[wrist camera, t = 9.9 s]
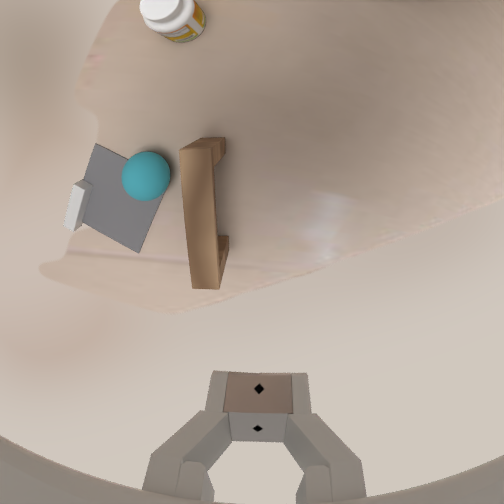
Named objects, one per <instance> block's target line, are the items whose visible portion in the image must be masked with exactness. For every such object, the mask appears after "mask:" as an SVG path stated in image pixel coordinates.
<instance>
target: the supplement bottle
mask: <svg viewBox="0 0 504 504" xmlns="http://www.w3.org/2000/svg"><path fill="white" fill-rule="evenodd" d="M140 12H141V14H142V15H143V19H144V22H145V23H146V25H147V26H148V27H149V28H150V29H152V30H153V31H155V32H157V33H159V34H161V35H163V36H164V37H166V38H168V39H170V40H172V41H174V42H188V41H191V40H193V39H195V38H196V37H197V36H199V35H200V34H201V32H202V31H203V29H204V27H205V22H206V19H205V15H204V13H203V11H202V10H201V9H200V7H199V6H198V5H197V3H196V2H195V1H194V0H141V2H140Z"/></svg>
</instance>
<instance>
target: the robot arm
mask: <svg viewBox="0 0 504 504" xmlns="http://www.w3.org/2000/svg"><path fill="white" fill-rule="evenodd" d="M232 441H259V442H284V445H285V446H286V448H287V449H288V450H289V452H290V453H291V455H292V456H293V457H294V459H295V461H296V462H297V463H298V465H299V466H300V468H301V469H302V470H303V472H304V475H303V478H302V481H301V483H300V485H299V488H298V490H297V493H296V504H504V455H503V456H500V457H498V458H496V459H494V460H492V461H489V462H487V463H485V464H482V465H480V466H477V467H475V468H472V469H470V470H467V471H464V472H461V473H459V474H456V475H453V476H450V477H447V478H444V479H441V480H438V481H435V482H431V483H428V484H424V485H421V486H417V487H413V488H409V489H405V490H401V491H396V492H392V493H387V494H382V495H377V496H371V497H366V489H365V483H364V476H363V470H362V463H361V460H360V459H359V458H358V457H357V456H356V455H355V454H354V453H353V452H352V451H351V450H350V449H349V448H348V447H347V446H346V445H345V444H344V443H343V441H342V440H341V439H340V438H339V437H338V436H337V435H336V434H335V433H334V432H333V431H332V430H331V429H330V428H329V427H328V426H327V425H326V424H325V422H324V421H323V420H322V419H321V418H320V417H319V416H318V415H317V414H312V413H311V402H310V393H309V384H308V375H307V374H306V373H291V374H290V373H244V372H243V373H242V372H228V371H213V373H212V375H211V380H210V386H209V391H208V396H207V401H206V407H205V411H199V412H198V413H197V414H196V415H195V416H194V417H193V418H192V419H190V420H189V421H188V422H187V423H186V424H185V425H184V426H183V427H182V428H181V429H179V430H178V431H177V432H176V433H175V434H174V435H173V436H172V437H170V438H169V439H168V440H167V441H166V442H165V443H164V444H162V445H161V446H160V447H159V448H158V449H157V450H155V451H154V452H153V453H152V454H151V457H150V461H149V465H148V469H147V472H146V476H145V480H144V483H143V487H142V490H140V489H136V488H132V487H128V486H124V485H121V484H117V483H114V482H110V481H106V480H104V479H100V478H97V477H94V476H91V475H88V474H85V473H82V472H80V471H77V470H74V469H71V468H69V467H66V466H64V465H61V464H59V463H56V462H54V461H52V460H49V459H47V458H45V457H42V456H40V455H38V454H36V453H34V452H32V451H29V450H27V449H25V448H23V447H21V446H19V445H17V444H15V443H13V442H11V441H9V440H8V439H6V438H4V437H2V436H1V435H0V504H232V503H220V502H213V501H214V489H213V486H212V484H211V481H210V478H209V476H208V473H207V471H208V470H209V469H210V468H211V467H212V465H213V464H214V463H215V462H216V460H218V458H219V457H220V456H221V455H222V454H223V452H224V451H225V450H226V449H227V448H228V446H229V445H230V444H231V443H232Z"/></svg>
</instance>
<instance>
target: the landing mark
mask: <svg viewBox="0 0 504 504" xmlns="http://www.w3.org/2000/svg"><path fill="white" fill-rule="evenodd" d="M127 161H128V159H126V158H124V157H122V156H120V155H118V154H116V153H114V152H112V151H110V150H108V149H106V148H104V147H102V146H100V145H98V144H95V146H94V149H93V152H92V154H91V157H90V161H89V163H88V166H87V170H86V173H85V176H84V179H83V180H84V181H86V182H88V183H89V184H91V185H93V187H92V190H91V193H90V196H89V200H88V203H87V206H86V210H85V213H84V217H83V221H82V222H83V223H85V224H87V225H88V226H90V227H92V228H93V229H95V230H97V231H99V232H101V233H102V234H104V235H106V236H108V237H110V238H111V239H113V240H115V241H117V242H119V243H120V244H122V245H124V246H126V247H128V248H130V249H131V250H133V251H135V252H137V253H139V252H140V249H141V247H142V244H143V242H144V239H145V237H146V235H147V232H148V230H149V227H150V225H151V223H152V220H153V218H154V216H155V213H156V211H157V209H158V207H159V204H160V202H161V200H162V198H163V195H164V193H165V191H166V190H165V191H164V193H163V194H162V195H160V196H159V197H158V198H156V199H153V200H150V201H140V200H136V199H134V198H132V197H131V196H130V195H129V194H128V193H127V192H126V191H125V189H124V187H123V184H122V179H121V176H122V170H123V167H124V165H125V164H126V162H127ZM169 182H170V181H169Z"/></svg>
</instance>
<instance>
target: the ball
mask: <svg viewBox="0 0 504 504" xmlns="http://www.w3.org/2000/svg"><path fill="white" fill-rule="evenodd" d="M121 179H122V184H123V187H124V189H125V191H126V192H127V193H128V194H129V195H130V196H131V197H132V198H134V199H136V200H140V201H150V200H153V199H156V198H158V197H159V196H160V195H162V194H163V193H164V191H165V190H166V189H167V187H168V184H169V181H170V169H169V166H168V164H167V162H166V161H165V160H164V159H163V158H162V157H161V156H160V155H158V154H156V153H153V152H140V153H137V154H135V155H134V156H132V157H131V158H130V159H129V160H128V161H127V162H126V164H125V165H124V167H123V170H122V176H121Z"/></svg>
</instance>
